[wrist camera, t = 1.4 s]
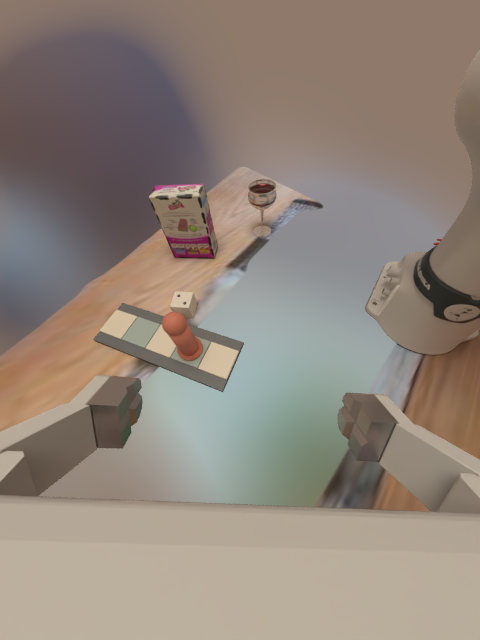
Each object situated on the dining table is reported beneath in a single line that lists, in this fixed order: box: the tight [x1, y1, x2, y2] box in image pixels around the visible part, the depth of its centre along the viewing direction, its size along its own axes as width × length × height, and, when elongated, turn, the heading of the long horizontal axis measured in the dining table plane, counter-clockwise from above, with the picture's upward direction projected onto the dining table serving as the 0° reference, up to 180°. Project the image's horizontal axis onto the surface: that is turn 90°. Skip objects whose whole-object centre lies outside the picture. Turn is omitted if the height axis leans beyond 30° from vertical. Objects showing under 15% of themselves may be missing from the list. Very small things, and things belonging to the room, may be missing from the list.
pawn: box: [162, 312, 203, 361], centre depth 39 cm, size 5×5×12 cm
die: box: [170, 292, 198, 318], centre depth 49 cm, size 4×4×4 cm
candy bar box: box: [149, 184, 218, 258], centre depth 54 cm, size 11×5×16 cm, turn 83°
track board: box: [93, 303, 244, 392], centre depth 46 cm, size 10×30×1 cm, turn 68°
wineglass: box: [248, 179, 276, 237], centre depth 58 cm, size 7×7×12 cm
